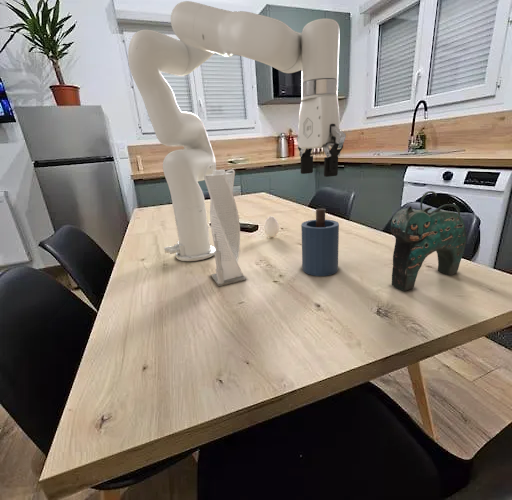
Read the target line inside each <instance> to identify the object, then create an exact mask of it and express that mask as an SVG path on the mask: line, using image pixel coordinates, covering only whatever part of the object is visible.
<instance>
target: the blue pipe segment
mask: <svg viewBox="0 0 512 500" xmlns="http://www.w3.org/2000/svg"><path fill="white" fill-rule="evenodd" d="M300 226H301V260H302V261H301V267H302V272H303V273H305V274H307V275H310V276H316V277H327V276H331V275H334V274H336V273H337V272H338V271H339V237H340V222H338V221H336V220H333V219H325V227H316V219H310V220H306V221H304V222H302V223H301V225H300Z"/></svg>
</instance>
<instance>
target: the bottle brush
mask: <svg viewBox="0 0 512 500" xmlns="http://www.w3.org/2000/svg"><path fill="white" fill-rule="evenodd" d="M315 220H316V227H325V220H326V208H323V207H320V208H319V207H318V208H316V209H315Z"/></svg>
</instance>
